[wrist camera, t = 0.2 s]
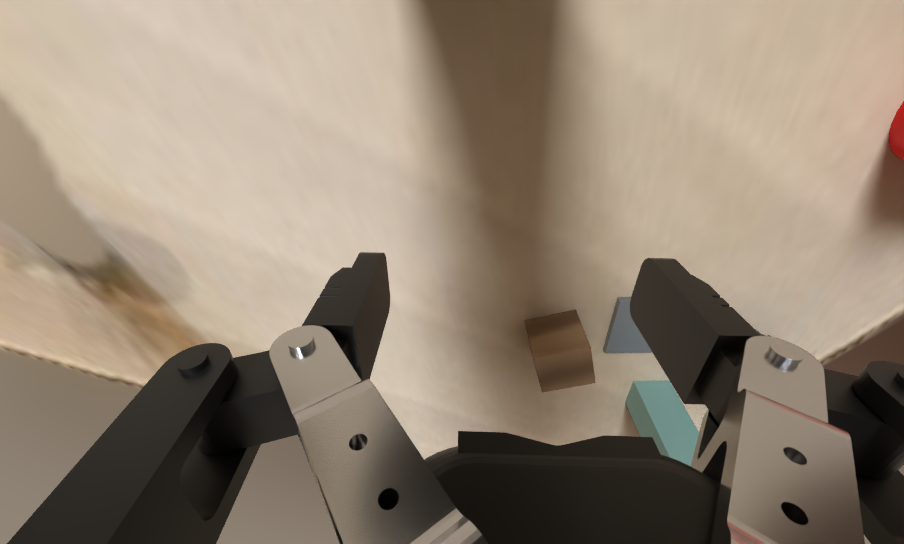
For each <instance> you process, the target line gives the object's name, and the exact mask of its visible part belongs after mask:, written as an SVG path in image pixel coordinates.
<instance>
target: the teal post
mask: <svg viewBox="0 0 904 544" xmlns="http://www.w3.org/2000/svg"><path fill="white" fill-rule="evenodd" d="M626 405H627V407H628V410H629V412H630V414H631V417H632V419H633V421H634V424H635V426H636V428H637V431H638V433H639V435H640V437H653V440H654V442H655V444H656V446H657V448H658V450H659V452H660V454H661V455H665V456H667V457H670V458H673V459H675V460H678V461H680V462H682V463H685V464H687V465H689V466H691V463H692V459H693V455H694V451H695V447H696V443H697V439H698V436H699V431H698V430H697V428H696V426H695V424H694V423H693V421H692V419H691V418H690V416H689V414H688V412H687V411H686V409H685V407H684V405H683V404H682V402H681V400H680V398H679V397H678V395H677V393H676V391H675V390H674V388H673V386H672V384H671V383H670V381H634V382H633V384H632V387H631V390H630V392H629V395H628V397H627V400H626Z"/></svg>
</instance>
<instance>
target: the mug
mask: <svg viewBox="0 0 904 544" xmlns="http://www.w3.org/2000/svg"><path fill="white" fill-rule="evenodd" d="M889 144H890V147H891V150H892V152H893V153H894V154H895V155H896V156H897V157H898V158H900V159H902V160H904V102H903V103H902V105H901V106H900V108H899V109H898V111H897V113H896V115H895V117H894V119H893V121H892V124H891V128H890V132H889Z"/></svg>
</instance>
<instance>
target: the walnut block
mask: <svg viewBox="0 0 904 544" xmlns="http://www.w3.org/2000/svg"><path fill="white" fill-rule="evenodd" d="M525 324H526V329H527V333H528V338H529V342H530V347H531V351H532V356H533V360H534V364H535V368H536V371H537V375H538V379H539V382H540V386H541V390H542V392H546V391H552V390H558V389H563V388H569V387H575V386H580V385H586V384H591V383H595V376H594V369H593V361H592V354H591V347H590V345H589V342H588V340H587V337H586V335H585V332H584V330H583V327H582V325H581V322H580V320H579V317H578V314H577V312H576V310H572V311H567V312H562V313H558V314H553V315H548V316H544V317H539V318H534V319H530V320H525Z"/></svg>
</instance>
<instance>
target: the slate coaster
mask: <svg viewBox="0 0 904 544" xmlns="http://www.w3.org/2000/svg"><path fill="white" fill-rule="evenodd" d="M630 300H631V297H618V298H617V301H616V305H615V308H614V312H613V316H612V319H611V323H610V326H609V330H608V333H607V337H606V340H605V344H604V347H603V349H604V352H605V353H650V352H652V351H651V349H650V347H649V346H648V344H647V342H646V341H645V339H644V338H643V336H642V334H641V333H640V331H639V329H638V328H637V326H636V325H635V323H634V321H633V319H632V317H631V314H630Z"/></svg>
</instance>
